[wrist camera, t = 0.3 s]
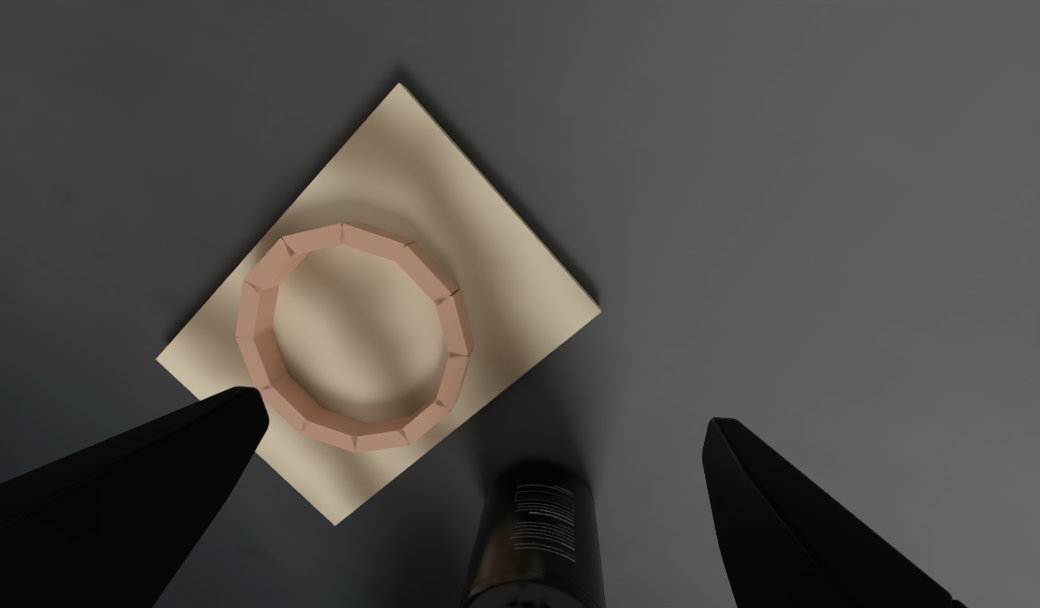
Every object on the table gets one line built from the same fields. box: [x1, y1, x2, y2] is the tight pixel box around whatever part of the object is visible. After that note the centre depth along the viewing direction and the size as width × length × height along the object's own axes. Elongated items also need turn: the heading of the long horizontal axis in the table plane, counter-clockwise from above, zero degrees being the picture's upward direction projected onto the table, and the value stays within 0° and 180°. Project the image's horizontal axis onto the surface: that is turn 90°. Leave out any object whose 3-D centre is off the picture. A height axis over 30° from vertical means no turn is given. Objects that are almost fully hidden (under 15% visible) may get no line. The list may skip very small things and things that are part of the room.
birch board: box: [156, 83, 601, 526], centre depth 24 cm, size 22×15×1 cm
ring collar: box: [235, 222, 474, 453], centre depth 23 cm, size 12×12×2 cm
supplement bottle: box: [459, 462, 606, 608], centre depth 20 cm, size 7×7×12 cm
